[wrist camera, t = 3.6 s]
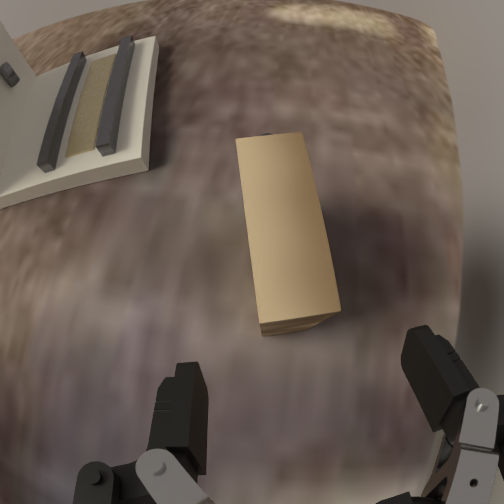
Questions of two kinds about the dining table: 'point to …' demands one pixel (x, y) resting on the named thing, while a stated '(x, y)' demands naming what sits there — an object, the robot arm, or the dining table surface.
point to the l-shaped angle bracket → (74, 118)
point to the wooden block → (286, 234)
